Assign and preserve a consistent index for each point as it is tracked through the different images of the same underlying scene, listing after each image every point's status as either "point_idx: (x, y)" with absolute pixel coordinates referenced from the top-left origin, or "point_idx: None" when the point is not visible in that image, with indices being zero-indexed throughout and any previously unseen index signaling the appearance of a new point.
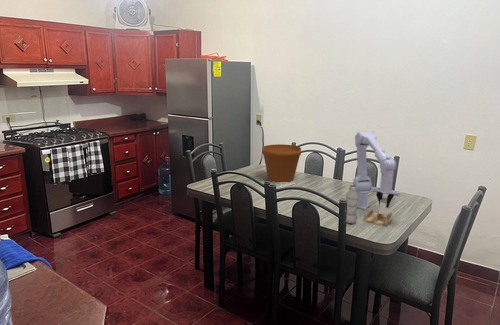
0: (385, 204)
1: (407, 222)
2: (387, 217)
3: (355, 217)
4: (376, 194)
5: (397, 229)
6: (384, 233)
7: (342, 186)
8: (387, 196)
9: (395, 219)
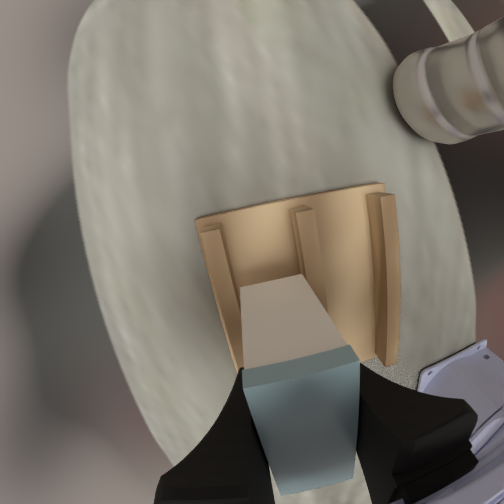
0: (248, 354)
1: (144, 382)
2: (227, 308)
3: (411, 71)
4: (474, 412)
5: (115, 229)
6: (147, 86)
7: None
8: (242, 490)
9: (218, 379)
